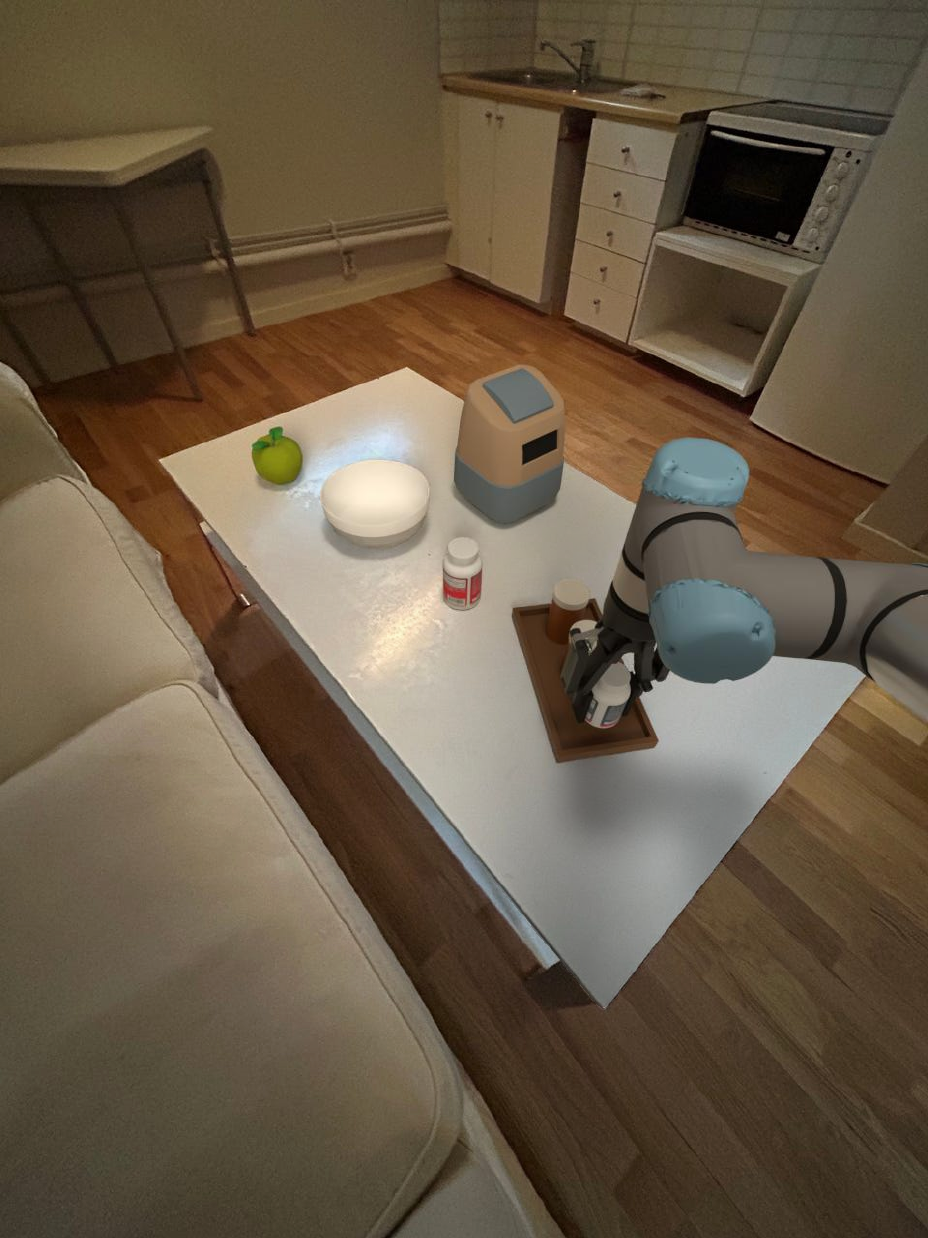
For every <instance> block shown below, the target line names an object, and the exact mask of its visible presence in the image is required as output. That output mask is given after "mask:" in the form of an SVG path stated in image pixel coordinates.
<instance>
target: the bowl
mask: <svg viewBox="0 0 928 1238" xmlns="http://www.w3.org/2000/svg"><path fill="white" fill-rule="evenodd" d="M319 501H320V504H321V508H322V510H323V513H324V516H325V518H326V519H327V521H328V523H329V525H330V526H331V528H332V529H333V531H334V532H335V533H336V534H338V536H340V537H341V538H342V539H344V540H346V541H347V542H349V543H351V544H353V545H355V546H358V547H360V548H366V549H371V550H385V549H390V548H393V547H395V546H397V545H398V546H399V545H400V544H402V543H404V542H406V541H408V540H409V539H411V537H413V536H414V535H415V534H416V533H417V532H418V530H419V529H420V528H421V527H422V526H423V525H424V522H425V520H426V518H427V514H428V511H429V508H430V503H431V502H430V501H431V486H430V483H429V481H428V479H427V478H426V476H425V475H424V474H423V473H422V472H421V471H420V470H419V469H417V468H416V467H414V466H412V465H410V464H408V463H405V462H401V461H399V460H391V459H380V458H379V459H365V460H361V461H356V462H352V463H350V464H347V465H345V466H342V467H339V469H337V470H336V471H334V472H333V473H331V474H330V475H329V476H328V477H327V478H326V479H325V480H324V482H323V483H322V485H321V488H320V491H319Z"/></svg>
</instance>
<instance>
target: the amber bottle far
mask: <svg viewBox="0 0 928 1238" xmlns="http://www.w3.org/2000/svg"><path fill="white" fill-rule="evenodd" d="M551 596H552V597H551V602H550V603H551V606H550V611H549V615H548V620H547V625H546V635H547V636H548V638H549V639H550V640H551V641H553V642H555V643H557V644H567V643H568V640H569V633H570V630H571V627H572V626H573V625H574V624H575V623H576V622H578V621H581V620H582V619H583V615H584V612H585V608H586V605H587V603H588V601H589V599H590V597H591V591H590V589H589V586H588V585H586V584H585V582H583V581H582V580H578V579H576V578H563V579H560V580H559V581H557V582H556V583H555V584H554V586H553V589H552V595H551Z"/></svg>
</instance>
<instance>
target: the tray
mask: <svg viewBox="0 0 928 1238" xmlns="http://www.w3.org/2000/svg"><path fill="white" fill-rule="evenodd" d="M550 606H551V602H550V603H543V604H534V605H526V606H517V607H512V612H511V618H512V622H513V625H514V628H515V631H516V635H517V638H518V642H519V645H520V648H521V651H522V654H523V659H524V662H525V664H526V668H527V671H528V674H529V677H530V681H531V683H532V688H533V691H534V694H535V697H536V700H537V704H538V707H539V711H540V713H541V717H542V720H543V723H544V727H545V730H546V734H547V737H548V740H549V744H550V746H551V750H552V753H553V757H554V759H555V763H556V764H560V763H561V764H562V763H566V762H573V761H580V760H585V759H592V758H599V757H605V756H612V755H618V754H623V753H624V754H625V753H632V752H637V751H643V750H650V749H655V748H656V747H657V745H658V743H659V738H658V736H657V734H656V731H655V729H654V726H653V724H652V722H651V720H650V718H649V716H648V714H647V711H646V709H645V707H644V704H643V702H642V700H641V698H640V697H637V698H636V700H635V702H634V704H633V706H632V708H631V710H630V712H629V714H628V716H624V717H622V715H621V716H620V718H619V720H618V722H617V723H616V724H615V725H614V726H612V727H609V728H598V727H594V726H592V725H590V724H589V723H588V722H586V721H585V720H584V722H583V723H578V721H577V719H576V716H575V713H574V710H573V707H572V704H573V702H572V699H571V696H570V695H567V694H566V692H565V689H564V686H563V683H562V681H561V678H560V676H561V675H560V669H561V665H562V662H563V658H564V654H565V651H566V647H567V644H557V643H555V642H553V641H551V640H550V639H549V638H548V636H547V635H546V625H547V620H548V615H549V611H550ZM602 616H603V612H602V610H601V608H600V606H599V604H598V602H597V600H596V598H595V597H594V598H589V601H588V603H587V605H586V608H585V612H584V615H583V619H582V620H592V621H595V622H598V621H599V620H600V619H601V618H602ZM618 662H620V663H622V664H623V665H625V666H626V664H625V662H624V660H623V657H622V658H621V659H620V660H619V661H618Z"/></svg>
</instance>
